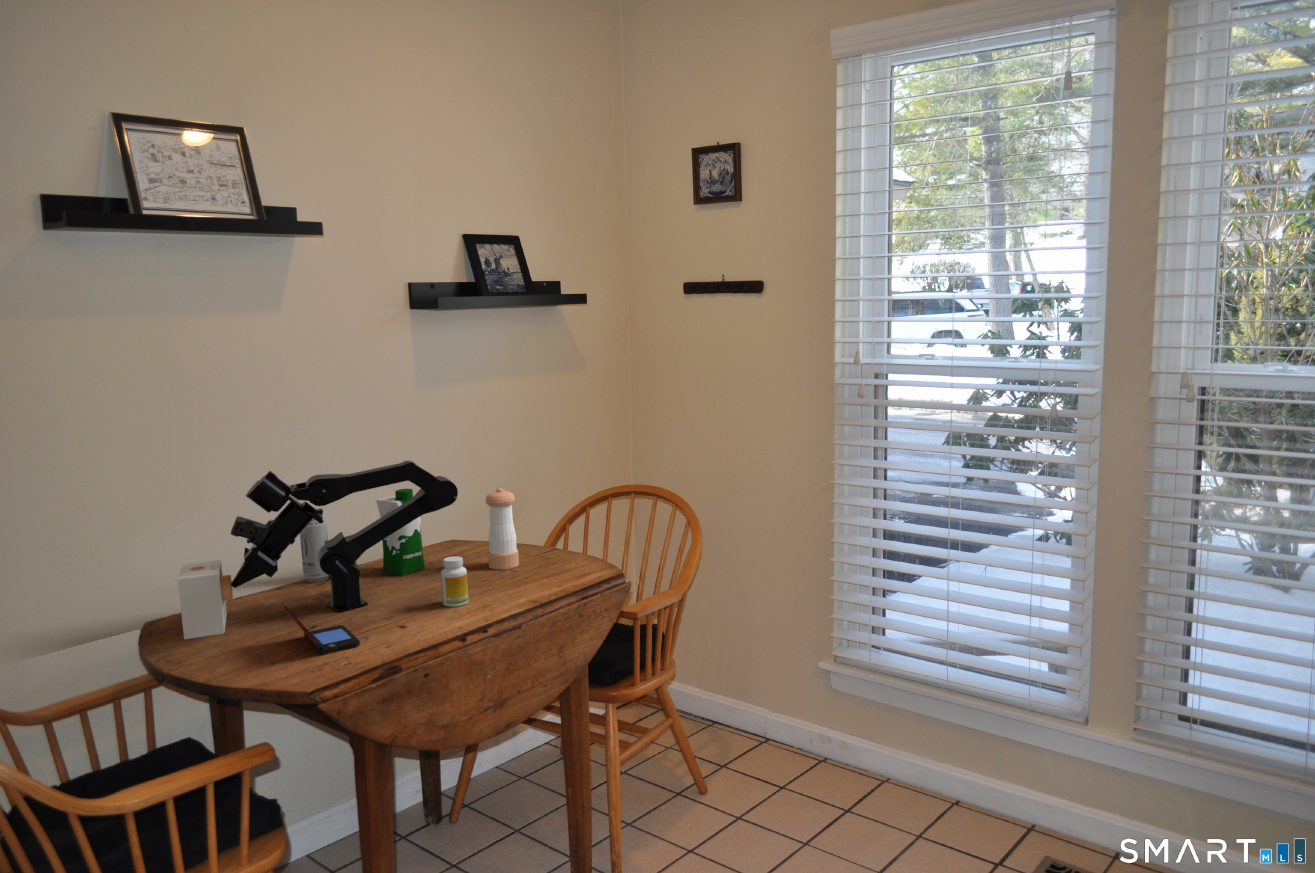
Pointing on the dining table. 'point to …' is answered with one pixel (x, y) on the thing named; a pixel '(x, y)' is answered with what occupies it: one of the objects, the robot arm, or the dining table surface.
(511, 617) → the dining table surface
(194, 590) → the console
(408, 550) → the milk carton
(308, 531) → the energy drink can
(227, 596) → the button
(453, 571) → the supplement bottle
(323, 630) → the handheld game console
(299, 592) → the dining table surface
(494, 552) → the pepper shaker
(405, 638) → the dining table surface
